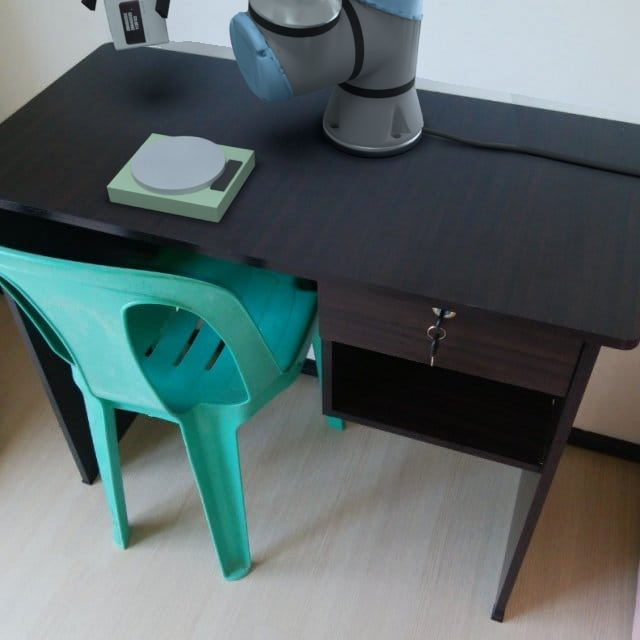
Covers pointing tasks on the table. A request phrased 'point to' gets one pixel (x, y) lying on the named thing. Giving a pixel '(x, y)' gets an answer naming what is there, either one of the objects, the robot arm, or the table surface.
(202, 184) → the scale
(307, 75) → the robot arm
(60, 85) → the table surface
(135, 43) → the container
